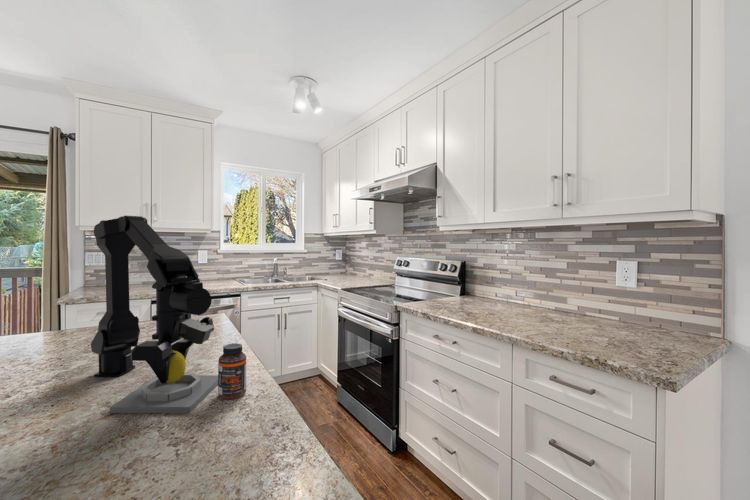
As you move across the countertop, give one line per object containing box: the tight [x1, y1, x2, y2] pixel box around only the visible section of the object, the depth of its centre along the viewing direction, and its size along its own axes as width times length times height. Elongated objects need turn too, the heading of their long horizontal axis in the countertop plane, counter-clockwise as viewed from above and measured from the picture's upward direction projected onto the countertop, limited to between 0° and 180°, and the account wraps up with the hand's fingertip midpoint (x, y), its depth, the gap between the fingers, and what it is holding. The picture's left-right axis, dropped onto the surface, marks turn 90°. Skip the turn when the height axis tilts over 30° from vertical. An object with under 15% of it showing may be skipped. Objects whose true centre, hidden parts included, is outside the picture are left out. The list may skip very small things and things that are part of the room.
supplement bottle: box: [217, 342, 247, 401], centre depth 77 cm, size 6×6×11 cm
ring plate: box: [109, 372, 218, 414], centre depth 77 cm, size 16×16×3 cm
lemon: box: [167, 350, 187, 385], centre depth 77 cm, size 6×6×8 cm
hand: (171, 377), depth 77 cm, fingers closed on lemon, 5 cm apart
